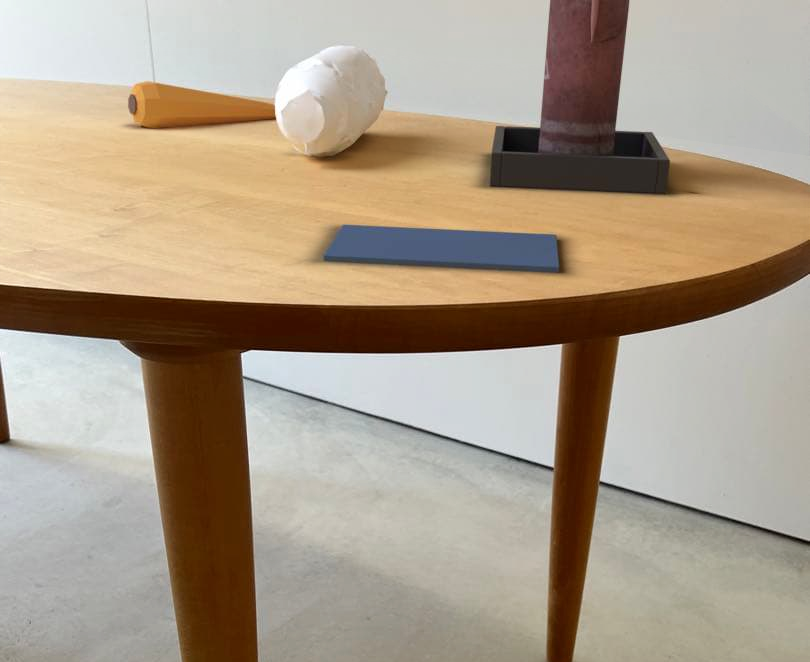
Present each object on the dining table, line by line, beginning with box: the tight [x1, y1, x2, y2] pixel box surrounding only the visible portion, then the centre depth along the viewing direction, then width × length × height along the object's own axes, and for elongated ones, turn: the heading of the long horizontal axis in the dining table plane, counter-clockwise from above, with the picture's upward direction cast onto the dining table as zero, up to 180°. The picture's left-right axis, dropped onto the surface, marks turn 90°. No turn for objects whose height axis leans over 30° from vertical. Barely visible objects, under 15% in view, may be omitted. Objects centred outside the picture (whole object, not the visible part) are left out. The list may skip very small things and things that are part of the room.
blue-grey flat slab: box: [322, 224, 560, 274], centre depth 69 cm, size 14×8×1 cm, turn 84°
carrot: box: [127, 80, 276, 129], centre depth 112 cm, size 20×4×4 cm, turn 124°
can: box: [538, 0, 630, 156], centre depth 89 cm, size 6×6×14 cm
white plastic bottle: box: [274, 44, 389, 158], centre depth 97 cm, size 8×19×8 cm, turn 172°
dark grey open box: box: [489, 125, 671, 196], centre depth 91 cm, size 14×14×3 cm
